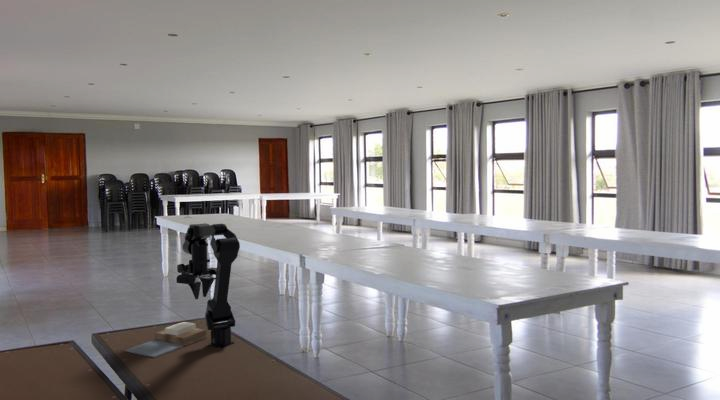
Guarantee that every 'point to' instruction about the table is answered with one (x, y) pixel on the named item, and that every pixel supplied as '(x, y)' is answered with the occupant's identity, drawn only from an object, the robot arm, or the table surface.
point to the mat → (154, 348)
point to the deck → (181, 337)
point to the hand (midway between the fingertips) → (200, 298)
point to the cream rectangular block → (180, 328)
